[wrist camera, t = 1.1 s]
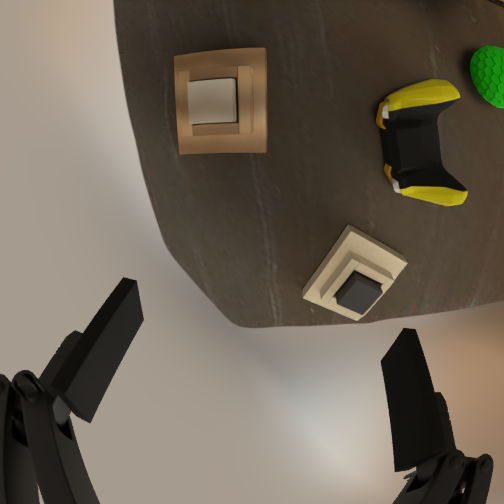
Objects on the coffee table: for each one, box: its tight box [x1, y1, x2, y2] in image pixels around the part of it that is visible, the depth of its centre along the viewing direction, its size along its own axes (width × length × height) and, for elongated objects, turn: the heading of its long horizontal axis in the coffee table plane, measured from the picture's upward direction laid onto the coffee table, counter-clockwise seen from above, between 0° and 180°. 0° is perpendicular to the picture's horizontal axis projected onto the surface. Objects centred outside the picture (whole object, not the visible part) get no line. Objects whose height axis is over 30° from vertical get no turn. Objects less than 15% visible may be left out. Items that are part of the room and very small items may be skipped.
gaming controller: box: [376, 79, 468, 206], centre depth 25 cm, size 15×6×10 cm
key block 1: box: [174, 48, 267, 154], centre depth 26 cm, size 12×10×4 cm
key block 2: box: [303, 224, 407, 321], centre depth 36 cm, size 12×10×4 cm
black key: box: [335, 270, 383, 315], centre depth 34 cm, size 4×4×2 cm
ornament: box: [470, 45, 504, 108], centre depth 16 cm, size 8×8×10 cm
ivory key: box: [187, 78, 237, 124], centre depth 24 cm, size 4×4×2 cm
